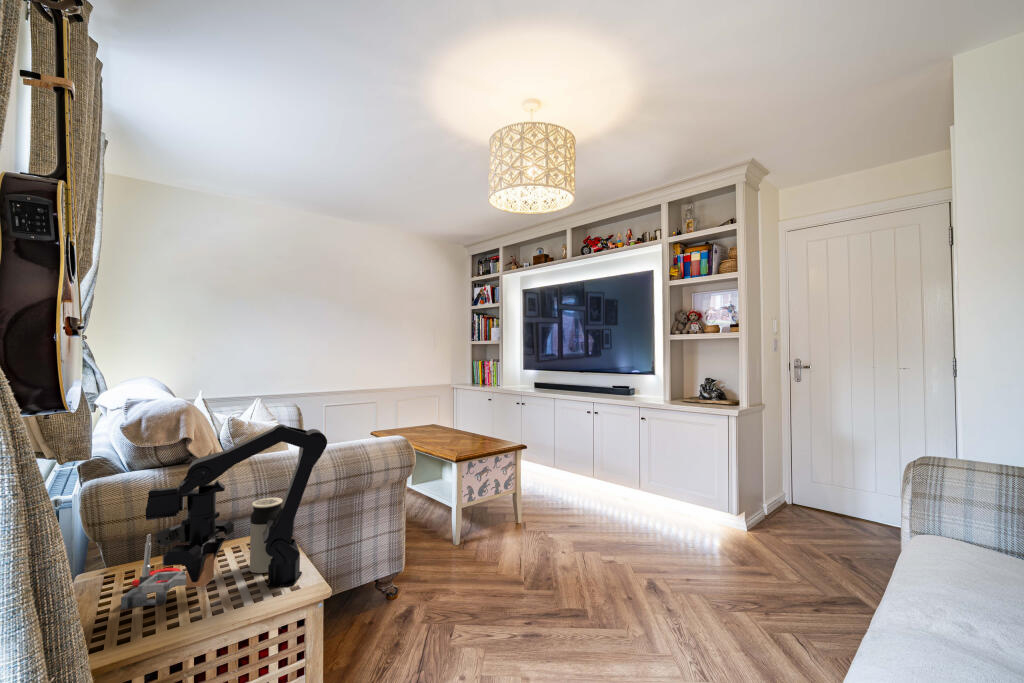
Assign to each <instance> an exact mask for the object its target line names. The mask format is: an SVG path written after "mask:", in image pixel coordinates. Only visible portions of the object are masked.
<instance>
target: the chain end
mask: <svg viewBox="0 0 1024 683" xmlns="http://www.w3.org/2000/svg"><path fill="white" fill-rule="evenodd" d="M185 569H186V568H185ZM214 576H215V560H214V553H208V554H207V557H206V560H205V563H204V566H203V569H202V571H201V574H200V577H199V580H198V582H192V581H191V578H190V576H189V574H188V571H187V569H186V570H181V571H173V572H157V573H156V574H154V575H153V576H151V577H150V578H149V579H147V580H146V581H144V582H143V583H142V584H140V585H139V586H137V588H138V593H147V594H148V593H156V592H166V591H167V592H169V591H170V590H171V589H173V588H174V587H180V586H181V587H182V586H185V587H186V588H200V587H203V588H204V587H205V586H207V585H208V584H209V583H210V582H211V581H212V580H213V579H215V577H214ZM163 580H169V581H168V582H166V583H156V582H157V581H163Z"/></svg>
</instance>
